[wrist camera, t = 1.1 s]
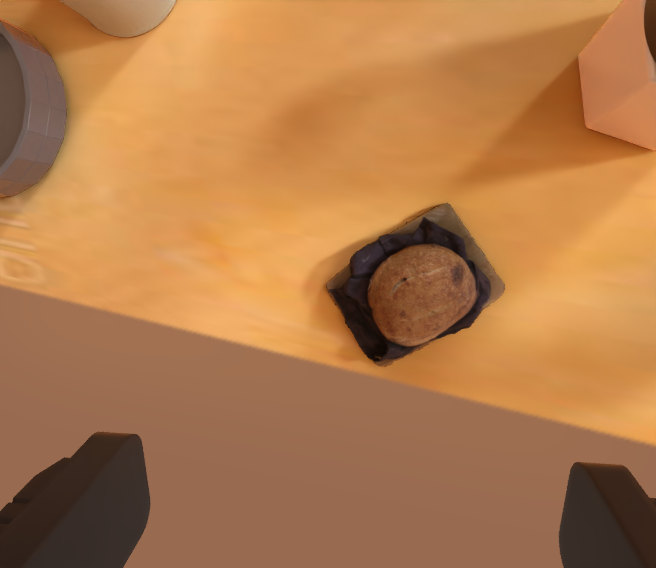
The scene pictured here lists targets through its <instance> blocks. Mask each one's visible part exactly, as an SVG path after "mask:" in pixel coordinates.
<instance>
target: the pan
mask: <svg viewBox="0 0 656 568" xmlns="http://www.w3.org/2000/svg"><path fill="white" fill-rule="evenodd" d="M66 116H67V109H66V101H65V93H64V85H63V82H62V80H61V78H60V75H59V73H58V71H57V68H56V66H55V63H54V61H53V59H52V57H51V56H50V55H49V54H48V52H47V51H46V50H45V49H44V48H43V46H42V45H41V44H40V43H39V42H38V40H37V39H36V38H35V37H33V36H32V35H30V34H28V33H27V32H25V31H23V30H22V29H20V28H18V27H17V26H15V25H13V24H11V23H9V22H7V21H5V20H3V19H1V18H0V197H7V196H14V195H17V194H18V193H20V192H22V191H24V190H25V189H27V188H29V187H31V186H33V185H34V184H36V183H37V182H38V181H39V180H40V178H41V177H42V176H43V175H44V174H45V173H46V172H47V170H48V169H49V168H50V167H51V166H52V164H53V162H54V160H55V157H56V155H57V153H58V151H59V148H60V146H61V144H62V140H63V138H64V131H65V124H66Z"/></svg>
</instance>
